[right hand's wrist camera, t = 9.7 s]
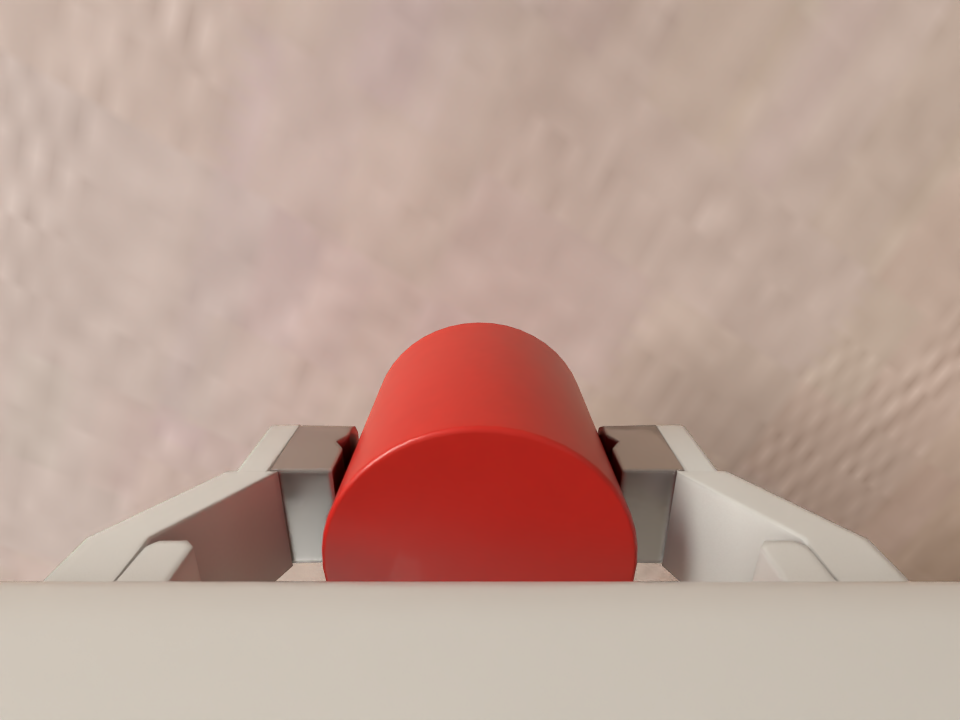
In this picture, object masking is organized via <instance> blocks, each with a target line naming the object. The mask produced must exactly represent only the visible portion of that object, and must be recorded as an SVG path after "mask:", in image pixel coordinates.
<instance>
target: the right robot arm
mask: <svg viewBox="0 0 960 720" xmlns="http://www.w3.org/2000/svg"><path fill="white" fill-rule="evenodd" d="M598 435H599V438H600V440H601V443H602V445H603V447H604V450H605V452H606V455H607V457H608V459H609V462H610V464H611V467H612V469H613V472H614V474H615V476H616V479H617V481H618V484H619V486H620V488H621V491H622V493H623V496H624V498H625V500H626V503H627V505H628V508H629V510H630V512H631V516H632V519H633V522H634V526H635V529H636V537H637V544H638V550H637V563H662V566H663V567H664V568H666V569H667V570H668V571H669V572H670V573H671V574H672V575H673V576H674V577H676V578H677V579H678V580H679V581H276V580H277V579H278V578H280V577H281V576H282V575H283V574H284V573H285V572H286V571H287V570H289V569H290V568H291V567H292V566H293V564H292V563H317V562H322V540H323V531H324V528H325V524H326V520H327V516H328V514H329V511H330V509H331V507H332V504H333V502H334V499H335V497H336V494H337V492H338V490H339V487H340V485H341V482H342V480H343V478H344V475H345V473H346V470H347V468H348V465H349V463H350V461H351V458H352V456H353V453H354V451H355V448H356V446H357V444H358V441H359V438H358V431H357V429H356V427H355V426H310V425H303V426H301V425H276V426H271V427H270V428H269V430H268V431H267V432H266V434H265V435H264V436H263V437H262V439H261V440H260V441H259V443H258V444H257V445H256V447H255V448H254V449H253V451H252V452H251V453H250V455H249V456H248V457H247V459H246V460H245V461H244V462H243V464H242V465H241V466H240V468H239V469H238V470H237V471H227V472H225V473H223V474H221V475H219V476H217V477H215V478H213V479H211V480H209V481H206V482H204V483H202V484H200V485H198V486H196V487H194V488H192V489H190V490H187V491H185V492H183V493H181V494H179V495H177V496H175V497H173V498H171V499H168V500H166V501H164V502H162V503H160V504H158V505H156V506H154V507H152V508H149V509H147V510H145V511H143V512H141V513H139V514H137V515H135V516H133V517H130V518H128V519H126V520H124V521H122V522H120V523H118V524H116V525H114V526H111V527H109V528H107V529H105V530H103V531H101V532H99V533H97V534H95V535H92V536H90V537H88V538H86V539H85V540H84V541H83V542H82V543H81V544H80V545H79V546H78V547H77V548H76V549H75V550H74V551H73V552H72V553H71V554H70V555H69V556H68V557H67V558H66V559H65V560H64V561H63V562H62V563H61V564H60V565H59V566H58V567H57V568H56V569H55V570H54V571H53V572H52V573H51V574H50V575H49V576H48V577H47V578H46V579H45V580H44V581H0V720H960V581H909V580H908V579H907V578H906V577H905V576H904V575H903V574H902V573H901V572H900V571H899V570H898V569H897V568H896V567H895V566H894V565H893V564H892V563H891V562H890V561H889V560H888V559H887V558H886V557H885V556H884V555H883V554H882V553H881V552H880V551H879V550H878V549H877V548H876V547H875V546H874V545H873V544H872V543H871V542H870V541H869V540H868V539H867V538H865V537H862V536H860V535H858V534H856V533H854V532H852V531H850V530H848V529H846V528H844V527H842V526H840V525H837V524H835V523H833V522H831V521H829V520H827V519H825V518H823V517H821V516H819V515H817V514H815V513H812V512H810V511H808V510H806V509H804V508H802V507H800V506H798V505H796V504H794V503H792V502H790V501H787V500H785V499H783V498H781V497H779V496H777V495H775V494H773V493H771V492H769V491H767V490H765V489H762V488H760V487H758V486H756V485H754V484H752V483H750V482H748V481H746V480H744V479H742V478H740V477H737V476H735V475H733V474H731V473H729V472H727V471H717V470H716V468H715V467H714V466H713V464H712V463H711V462H710V460H709V459H708V458H707V456H706V455H705V454H704V452H703V451H702V450H701V448H700V447H699V446H698V444H697V443H696V442H695V440H694V439H693V438H692V436H691V435H690V434H689V432H688V431H687V430H686V428H685V427H684V426H682V425H660V426H656V425H642V426H603V427H600V428H599V430H598Z"/></svg>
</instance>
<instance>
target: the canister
mask: <svg viewBox="0 0 960 720" xmlns="http://www.w3.org/2000/svg"><path fill="white" fill-rule="evenodd" d="M637 550H638V544H637V537H636V529H635V526H634V522H633V519H632V516H631V512H630V510H629V508H628V505H627V503H626V500H625V498H624V496H623V493H622V491H621V488H620V486H619V484H618V481H617V479H616V476H615V474H614V472H613V469H612V467H611V464H610V462H609V459H608V457H607V455H606V452H605V450H604V447H603V445H602V443H601V440H600V438H599V435H598V433H597V431H596V428H595V426H594V423H593V421H592V419H591V416H590V414H589V411H588V409H587V406H586V404H585V402H584V399H583V397H582V394H581V392H580V390H579V387H578V385H577V383H576V381H575V378H574V376H573V374H572V372H571V371H570V369H569V368H568V366H567V365H566V364H565V362H564V361H563V360H562V359H561V358H560V357H559V355H558V354H557V353H556V352H555V351H554V350H552V349H551V348H550V347H549V346H548V345H546V344H545V343H544V342H542V341H540V340H539V339H537V338H536V337H534V336H532V335H530V334H528V333H526V332H524V331H521V330H519V329H515V328H512V327H509V326H505V325H499V324H493V323H467V324H460V325H455V326H450V327H447V328H444V329H441V330H438V331H435V332H433V333H431V334H429V335H427V336H425V337H423V338H422V339H420V340H419V341H417V342H416V343H414V344H413V345H411V346H410V347H409V348H408V349H407V350H406V351H405V352H403V353H402V354H401V356H400V357H399V358H398V359H397V360H396V361H395V363H394V364H393V365H392V367H391V368H390V370H389V371H388V373H387V375H386V377H385V379H384V381H383V383H382V386H381V388H380V390H379V393H378V395H377V398H376V400H375V402H374V405H373V407H372V410H371V412H370V415H369V417H368V419H367V422H366V424H365V427H364V429H363V432H362V434H361V436H360V439H359V441H358V444H357V446H356V448H355V451H354V453H353V456H352V458H351V461H350V463H349V465H348V468H347V470H346V473H345V475H344V478H343V480H342V482H341V485H340V487H339V490H338V492H337V494H336V497H335V499H334V502H333V504H332V507H331V509H330V511H329V514H328V516H327V520H326V524H325V528H324V531H323V540H322V562H323V569H324V573H325V578H326V581H633V580H634V575H635V570H636V565H637Z"/></svg>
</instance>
